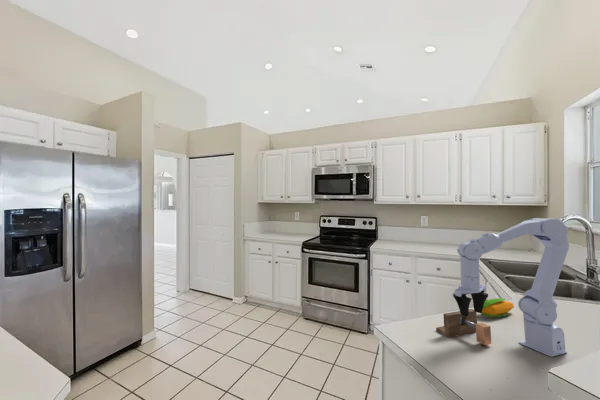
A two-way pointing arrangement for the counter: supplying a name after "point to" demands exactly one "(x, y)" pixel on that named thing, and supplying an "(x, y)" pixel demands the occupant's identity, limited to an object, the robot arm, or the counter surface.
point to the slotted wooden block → (457, 324)
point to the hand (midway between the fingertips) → (471, 313)
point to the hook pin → (480, 331)
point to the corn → (496, 307)
